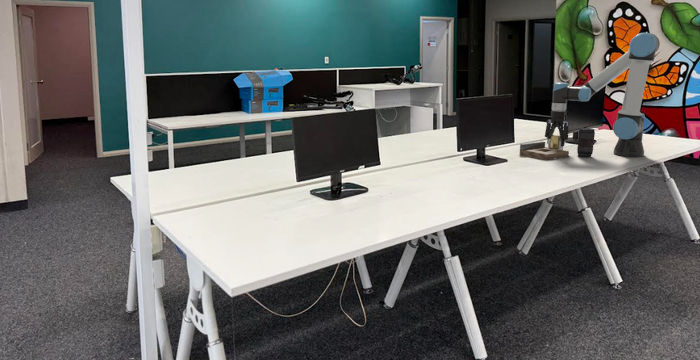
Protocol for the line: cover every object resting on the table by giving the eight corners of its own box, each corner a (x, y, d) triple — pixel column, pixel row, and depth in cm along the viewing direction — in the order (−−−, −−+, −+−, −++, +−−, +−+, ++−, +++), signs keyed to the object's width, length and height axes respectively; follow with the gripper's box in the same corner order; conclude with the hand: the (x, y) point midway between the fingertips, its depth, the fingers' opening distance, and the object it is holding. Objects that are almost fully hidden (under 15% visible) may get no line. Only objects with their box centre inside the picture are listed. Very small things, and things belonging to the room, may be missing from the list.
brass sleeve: (562, 151, 317) (563, 135, 315) (556, 152, 315) (557, 136, 313) (554, 150, 322) (555, 134, 320) (547, 151, 319) (549, 135, 317)
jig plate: (568, 156, 302) (569, 145, 300) (546, 160, 293) (547, 148, 291) (541, 151, 317) (542, 141, 315) (519, 154, 307) (520, 144, 306)
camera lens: (589, 155, 306) (592, 128, 303) (594, 158, 298) (597, 130, 295) (574, 155, 307) (576, 127, 304) (578, 157, 299) (581, 129, 296)
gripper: (539, 109, 319) (536, 149, 325) (569, 112, 303) (565, 154, 308) (548, 108, 323) (545, 147, 328) (578, 111, 307) (574, 153, 312)
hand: (555, 150), depth 318 cm, fingers open, 7 cm apart
